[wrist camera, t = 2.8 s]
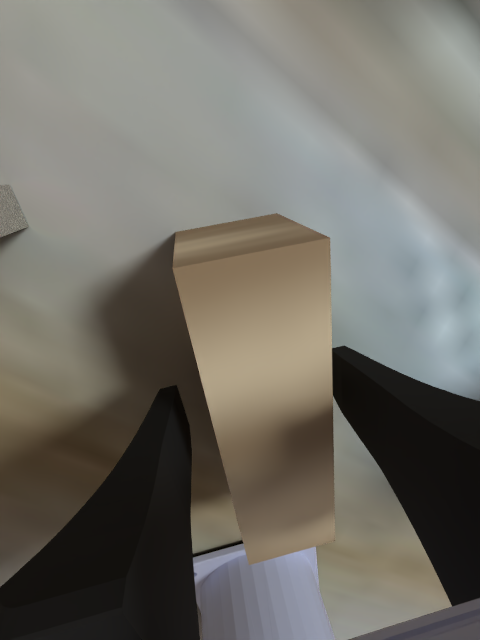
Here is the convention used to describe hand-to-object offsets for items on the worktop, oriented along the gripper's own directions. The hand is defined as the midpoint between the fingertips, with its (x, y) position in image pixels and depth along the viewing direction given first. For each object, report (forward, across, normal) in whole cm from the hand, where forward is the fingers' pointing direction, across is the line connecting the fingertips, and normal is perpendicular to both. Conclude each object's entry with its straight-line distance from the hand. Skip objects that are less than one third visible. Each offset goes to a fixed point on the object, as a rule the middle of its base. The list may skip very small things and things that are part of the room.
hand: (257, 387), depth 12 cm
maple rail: (+2, 0, 0) cm, 2 cm away
